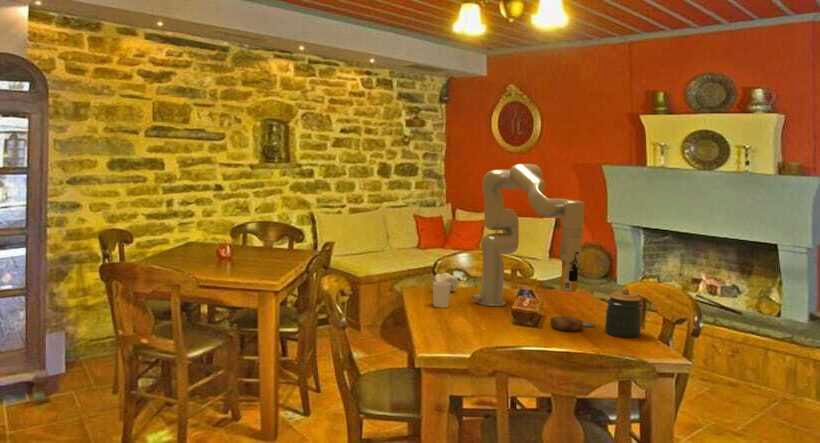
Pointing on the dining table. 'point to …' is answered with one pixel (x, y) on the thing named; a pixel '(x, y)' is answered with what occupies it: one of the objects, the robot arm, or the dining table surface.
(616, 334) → the canister
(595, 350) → the dining table surface
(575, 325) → the stand
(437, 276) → the grey rounded block
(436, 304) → the white cup
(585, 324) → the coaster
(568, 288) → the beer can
